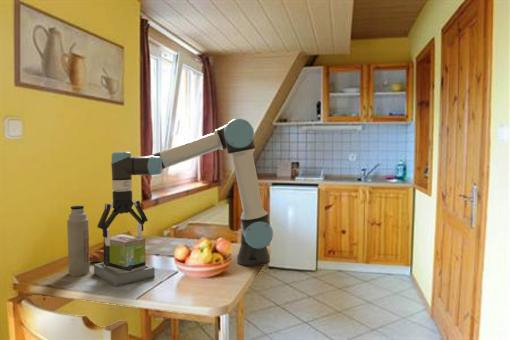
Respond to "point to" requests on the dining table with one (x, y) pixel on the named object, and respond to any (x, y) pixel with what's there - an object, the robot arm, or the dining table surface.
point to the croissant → (98, 255)
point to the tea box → (125, 254)
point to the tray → (123, 275)
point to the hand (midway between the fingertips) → (124, 242)
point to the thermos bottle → (78, 242)
